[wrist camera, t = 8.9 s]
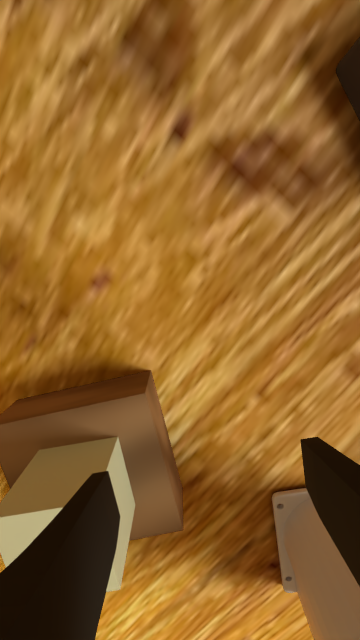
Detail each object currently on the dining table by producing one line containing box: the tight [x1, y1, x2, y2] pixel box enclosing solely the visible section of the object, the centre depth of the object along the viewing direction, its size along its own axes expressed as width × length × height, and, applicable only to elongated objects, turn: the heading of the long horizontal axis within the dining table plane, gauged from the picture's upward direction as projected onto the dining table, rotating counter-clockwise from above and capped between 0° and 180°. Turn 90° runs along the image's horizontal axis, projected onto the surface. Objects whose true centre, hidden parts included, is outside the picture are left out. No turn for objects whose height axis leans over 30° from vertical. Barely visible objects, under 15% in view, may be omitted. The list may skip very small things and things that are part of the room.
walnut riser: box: [0, 370, 183, 541], centre depth 21 cm, size 10×10×4 cm
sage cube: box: [0, 437, 135, 592], centre depth 16 cm, size 5×5×5 cm
